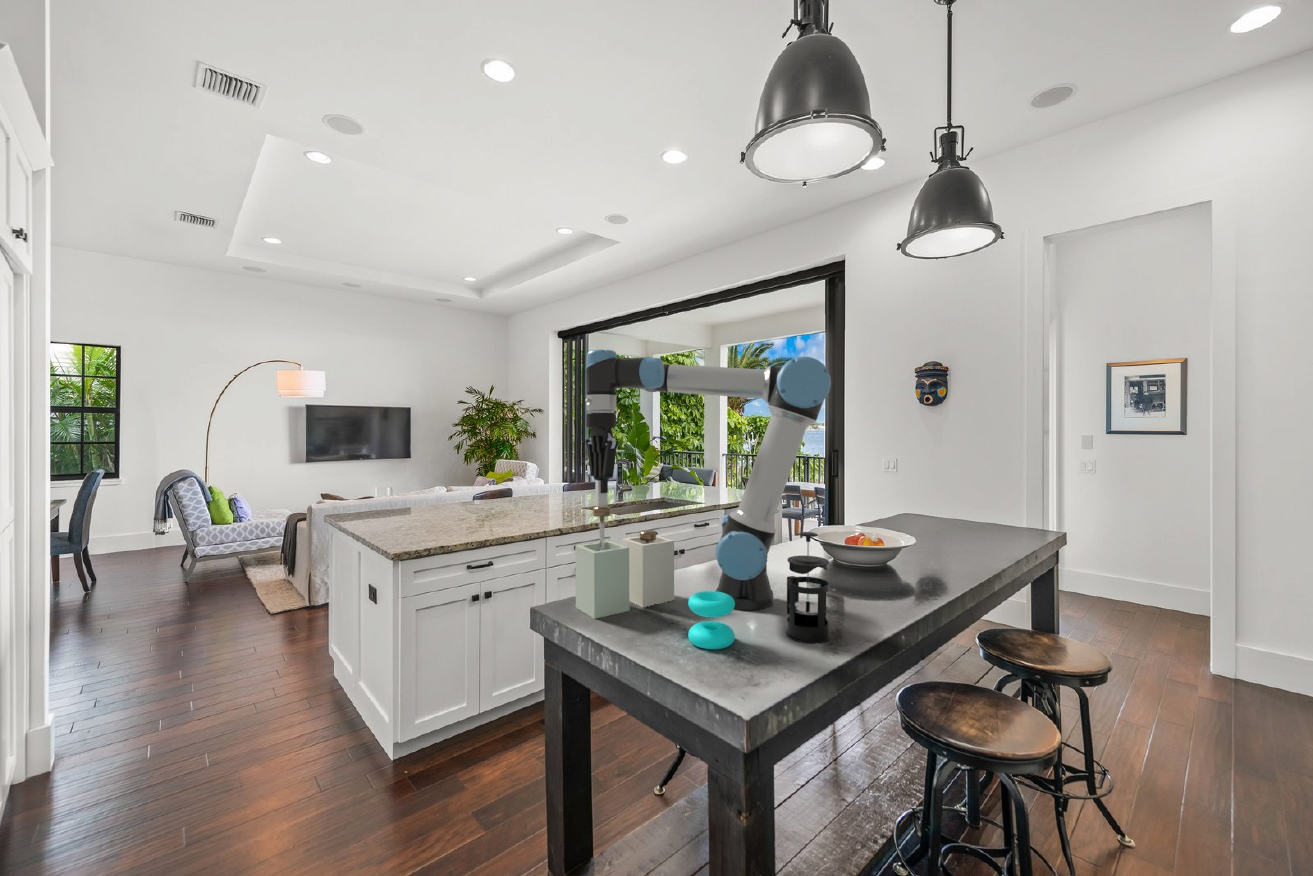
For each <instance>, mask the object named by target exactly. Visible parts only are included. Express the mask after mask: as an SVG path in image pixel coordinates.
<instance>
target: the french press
mask: <svg viewBox="0 0 1313 876" xmlns="http://www.w3.org/2000/svg"><path fill="white" fill-rule="evenodd" d="M798 535H799V536H800V537H805V542H806V544H807V545H806V546H807V547H806V549H807V550H806V551H807V554H806V555H793V556H789V557H787V559H786V561H787V563H789V568H788V569H789V570H790V571H791V572H792V573H793V572H794V573H796V574H801V575H806V576H795V575H791V576H787V577H786V614H787V615H788V617H787V618H786V619H787V620H786V622H787V623H786V627H787V628H786V630H785V634H786V636H787V637H788V638H789V639H790V640H792V641H795V642H798V643H801V642H802V643H803V644H813V645H815V643H819V644H823V643H822V642H824V643H826V642H828V641H830V638H831V635H830V631H829V630H830V623H829V620H828V619H827V613H828V610H829V609H828V607H827V593H828V592H830V583H829V581H827V580H825V579H823V578H820V577H814V576H810V572H812V571H813V570H815V569H816V568H821V569H823V570H825V571H828V566H829V564H830V560H829V559H827V558H824V557H820V556H815V555H810V542H811V538H812V537H813V538H814V537H818V536H819V534H818V533H816V532H812V531H802V532H799V533H798ZM800 583H806V587H805V586H804V587H803V586H800ZM810 584H815V585H820V587H810ZM799 594H803V595H804V594H805V595H806V600H800V597H799ZM810 595H817V602H816V601H810V598H809V596H810ZM825 641H826V642H825ZM802 643H801V644H802Z"/></svg>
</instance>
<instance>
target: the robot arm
mask: <svg viewBox="0 0 1313 876" xmlns="http://www.w3.org/2000/svg"><path fill="white" fill-rule="evenodd" d="M585 364H586V365H585V366H586V367H585V379H586V381H585V382H586V384H585V387H586V393H585V394H586V395H585V396H586V399H585V403H586V411H587V413H586V415H585V418H586V419H585V420H586V423H585V425H586V427H587V428H588V429H590V437H589V439H585V445H586V447H587V456H588V465H589V475H590V476H591V477H593V479H594V481H595V482H594V483H595V488H594V489H595V492H594V493H595V497H594V498H595V501H594V502H595V507H596V506H609V501H608V500H609V496H608V493H609V480H610V479H612V478H613V477H614V472H615V471H614V470H615V463H616V457H617V456H616V454H617V448H618V446H619V440H618V439H616V440H615V439H614V438H613V436H614V435H613V430H612V429H614V428H616V427H617V414H616V413H615V411H617V389H640V390H644V391H646V392H650V393H657V392H659V393H660V392H662V393H676V394H691V395H705V396H708V395H709V396H719V397H720V396H721V397H734V398H735V397H736V398H747V399H748V398H751V399H762V400H763V401H764V402H765V403H766V404H768V405H767V407H768V409H769V412H770V414H771V415H770V418H769V421H768V424H767V427H766V429H765V432H764V436H763V439H762V441H761V443H760V446H759V449H758V452H757V455H756V458H755V460H754V463H753V466H752V469H751V471H750V475H749V477H748V480H747V483H746V485H745V489H744V490H743V494H742V496H741V500H740V502H739V505H738V508H736V510H733V511H731V512H729V513H728V514H725V515H723V517H722V522H721V527H722V531H721V532H722V533H721V537H720V538H719V539H720V540H719V541H718V543H717V545H716V547H715V552H716V553H715V556H716V561H717V564H718V566H719V568H720V570H721V574H720V577H719V578H720V579H719V581H718V586H717V588H716V590H715V591H717V592H722V593H726V594H728V595H730V596H731V597H732V598H733V599H734V602H735V607H734V609H733V610H742V611H743V610H745V611H752V610H762V609H765V608H768V607H771V606H773V604H774V592H773V590H772V587H771V583H770V579H769V576H768V573H767V568H768V567H767V565H768V564H767V563H768V554H769V552H770V549H771V546H772V543H773V540H774V538H775V535H776V532H777V529H776V528H775V525H774V522H773V521H774V518H775V515H776V514H777V510H778V507H779V504H780V503H781V500H782V497H783V495H784V494H783V493H784V490H785V488H786V485H787V482H788V480H789V477H790V474H791V472H792V469H793V466H794V464H795V460H796V458H797V455H798V453H799V450H800V447H801V444H802V441H803V439H804V436H805V433H806V431H807V428H808V427H809V426H810V425H812V424H815V423H816V422H817V419H818V417H819V415H820V412H821V408H822V406H823V404H824V400H825V399H826V398H827V397H828V395H829V393H830V391H831V387H832V378H831V375H830V373H829V370H828V368H827V367H826V365H824V363H823V362H821V361H820V360H818V359H817V358H814V357H812V356H798V357H797V356H796V357H794V358H792V359H789V360H788V361H787V362H785V363H784V364H783V365H778V366H777V365H776V366H774V365H769V366H768V367H767V368H765V369H764V368H763V369H759V368H742V367H728V366H727V367H725V366H723V367H722V366H705V365H691V364H690V365H688V364H671V363H664V361H663V359H661V357H652V356H651V357H650V356H646V357H626V358H625V357H624V358H623V357H622V358H621V357H620V358H619V357H618V356H617V353H616V351H614V350H611V349H593V350H590V351H588V352H587V353H586V362H585Z"/></svg>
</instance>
